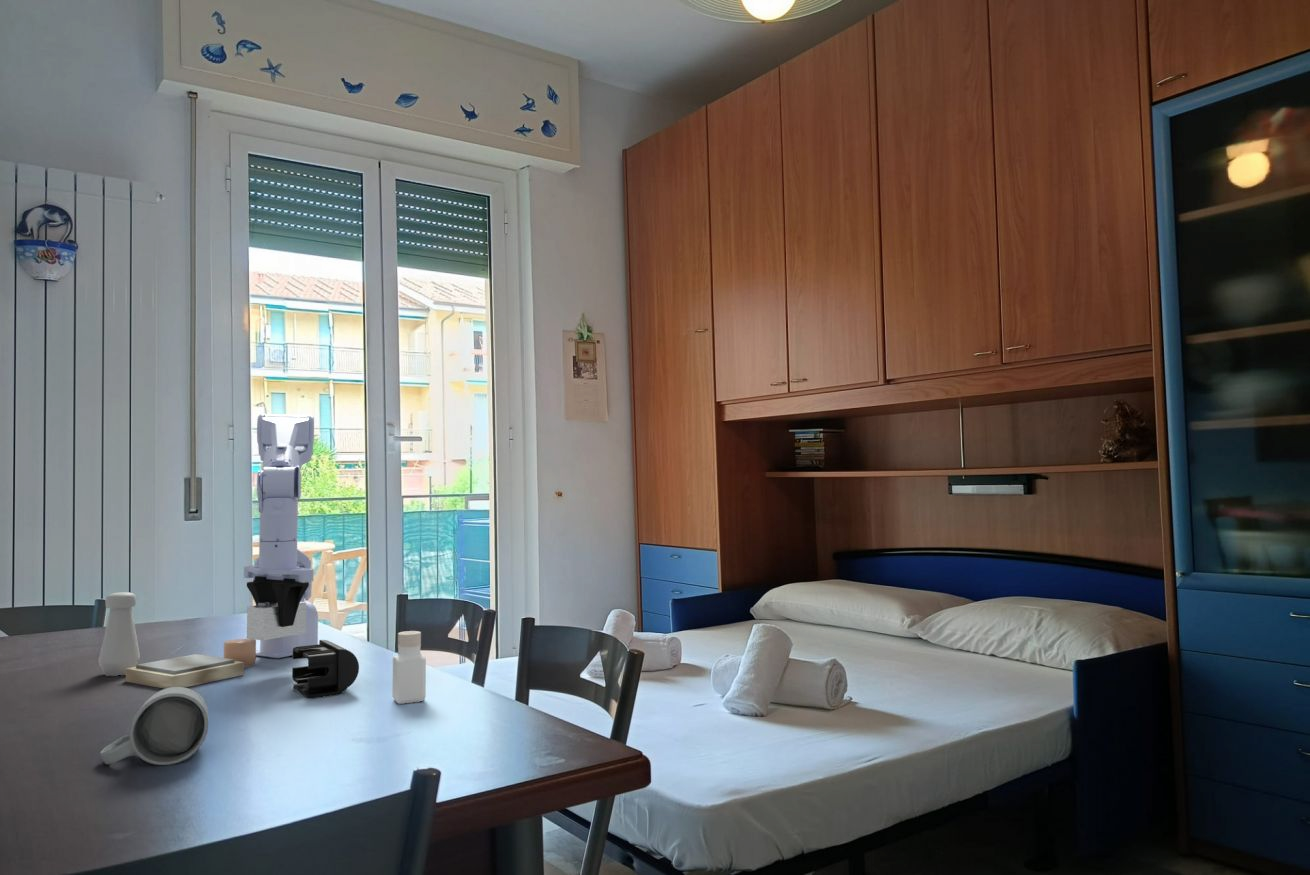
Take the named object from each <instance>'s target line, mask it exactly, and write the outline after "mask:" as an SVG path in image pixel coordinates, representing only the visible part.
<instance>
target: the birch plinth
mask: <svg viewBox="0 0 1310 875" xmlns="http://www.w3.org/2000/svg"><path fill="white" fill-rule="evenodd" d="M244 675H245V667H244V662H239V661H235V660H234V659H227V658H223V657H220V656H219V657H218V656H214V655H213V656H211V655H205V654H197V653H194V654H189V655H185V656H184V655H183V656H177V657H172V658H165V659H161V660H156V661H151V662H145V663H139V664H137V665H136V667H132V668H127V669H126V675H125V683H131V684H136V685H144V686H148V687H153V688H160V689H166V688H171V687H184V688H189V687H193V686H197V685H202V684H203V685H204V684H207V683H211V682H217V681H222V680H225V679H227V680H228V679H231V678H236V677H240V676H244Z"/></svg>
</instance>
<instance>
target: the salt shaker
mask: <svg viewBox="0 0 1310 875" xmlns="http://www.w3.org/2000/svg"><path fill="white" fill-rule="evenodd" d="M136 596H137V595H136V594H135V593H133V592H128V591H124V592H121V591H120V592H113V593H109V594H108V595H107V596H106V598H105V603H104V604H105V607H106V609H109V613H108V618H107V623H106V627H105V632H104V635H103V640H102V644H101V648H100V652H99V656H98V661H97V662H98V664H99V667H100V668H101V670H102V671H103V673H104V675H105V677H119V676H118V675H121V676H126V669H127V668H132V667H136V665H138V663H139V661H140V657H141V654H140V649H139V643H138V637H137V631H136V626H135V621H134V619H135V618H134V613H133V607H135V605H136V604H137V597H136Z"/></svg>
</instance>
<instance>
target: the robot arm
mask: <svg viewBox="0 0 1310 875" xmlns="http://www.w3.org/2000/svg"><path fill="white" fill-rule="evenodd" d="M256 420H257V421H256V422H257V423H256V440H257V448H258V455H259V457H260V458H259V459H260V461H261V462H262V467H261V468H262V469H261V470H259V469H258V471H257V473H256V474H257V477H256V496H257V500H258V501H257V503H258V513H259V534H258V537H259V538H258V540H259V542H258V543H259V544H258V545H259V546H258V547H259V548H258V555H259V556H258V557H257V558H256V561H254V564H253V565H244V566H243V578H244V579H251V578H252V581H247V582H246V587H247V589H248V591H249V592H250V594H251V596H252V600H253V601H254V603H255V606H256V605H258V603H259V602H269V604H270V603H277V604H278V617H279V624H280V627H286V626H292V625H293V624H294V620H295V617H296V613H297V609H298V606H299V604H300V602H306V632H305V633H302V634H296V635H291V636H285V637H280V638H274V639H269V640H259V645H260V646H259V649H258V650H257V649H256V656H259V657H267V658H273V659H281V658H286V657H290V656H293V648H295V647H299V646H308V645H318V644H319V640H318V639H319V638H318V636H319V614H318V611H317V608H316V606H315V605H314V604H313V602H311V601H309V600H310V599H311V598H312V584H313V582H314V569H312V560H311V559H310V556H308V554H306V553H305V552H303V551H301V550H300V549H298V522H299V521H298V516H299V509H298V507H299V503H298V502H300V499H301V495H302V472H301V469H302V466H303V465H305V464H307V463H309V462H311V461H312V456H313V455H314V444H315V416H314V415H312V413H308V414H284V413H283V414H282V413H281V414H280V413H277V414H276V413H274V414H273V413H265V412H263V413H262V412H261V413H260V414H258V416H257V419H256Z"/></svg>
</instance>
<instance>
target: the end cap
mask: <svg viewBox="0 0 1310 875" xmlns="http://www.w3.org/2000/svg"><path fill="white" fill-rule="evenodd" d="M301 659H302V660H303V659H307V665H305V666H297V667H296V666H295V667H292V673H291V674H292V676H291V677H292V681H293V682H295V683H293V684H292V688H293V690H294V691H296V692H297V693H299V694H300V695H302V696H303V697H305V698H306V699H308V700H312V699H319V698H320V699H321V698H328V697H335V696H339V695H341V694H342V693H344V692H345V691H346V690H347V689H348V688H350V687H351V686H352V685H353V684H354V682H355V681H356V680H357V679H358V678H357V677H358V675H359V672H360V663H359V660H358V658H357V656H356V655H355V654H354V652H352V651H350V650H349V649H346V648H345V647H342V646H340V645H338V644H337V643H334V642H332V641H329V640H328V639H327V640H326V639H319V640H318V645H308V646H299V647H295V648H293V655H292V660H301Z"/></svg>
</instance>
